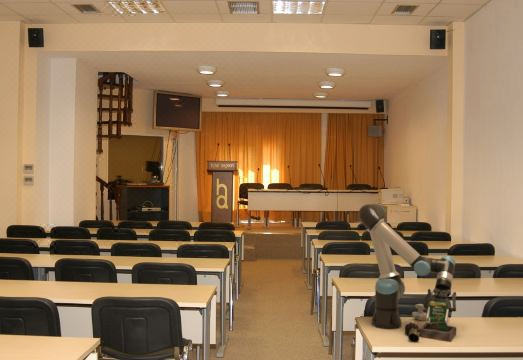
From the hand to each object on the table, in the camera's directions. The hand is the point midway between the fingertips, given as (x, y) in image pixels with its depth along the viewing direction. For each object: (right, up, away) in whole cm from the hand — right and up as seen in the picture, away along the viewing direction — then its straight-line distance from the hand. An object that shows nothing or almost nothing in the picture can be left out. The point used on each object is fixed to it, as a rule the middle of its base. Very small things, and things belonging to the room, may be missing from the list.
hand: (436, 320), depth 241 cm
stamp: (+2, -9, +33) cm, 34 cm away
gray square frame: (+2, -8, +3) cm, 9 cm away
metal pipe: (-12, -8, 0) cm, 14 cm away
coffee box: (+2, -5, +3) cm, 6 cm away
